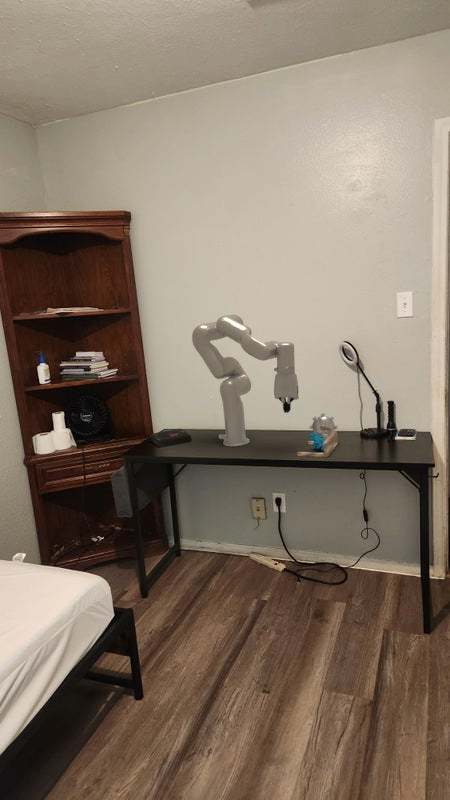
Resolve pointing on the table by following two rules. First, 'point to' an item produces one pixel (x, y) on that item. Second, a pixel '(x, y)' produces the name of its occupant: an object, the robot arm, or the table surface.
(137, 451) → the table surface
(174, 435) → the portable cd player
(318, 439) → the blue spiky oval
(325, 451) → the gear bay
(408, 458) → the table surface
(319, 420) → the gear
